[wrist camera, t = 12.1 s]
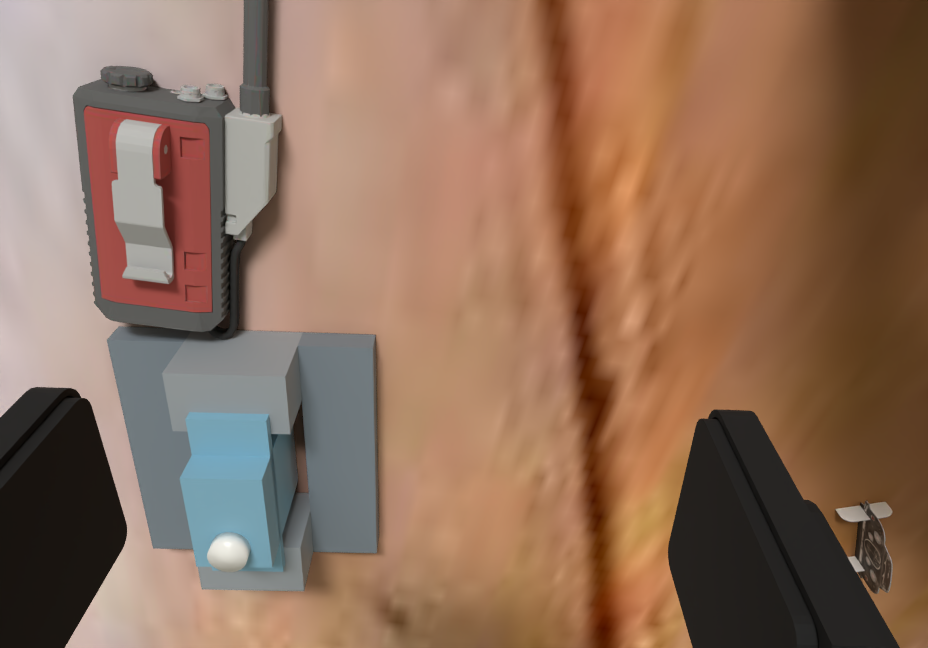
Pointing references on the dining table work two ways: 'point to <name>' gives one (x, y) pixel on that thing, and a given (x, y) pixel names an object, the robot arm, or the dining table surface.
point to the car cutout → (870, 544)
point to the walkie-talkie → (175, 188)
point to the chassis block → (278, 394)
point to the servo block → (238, 491)
